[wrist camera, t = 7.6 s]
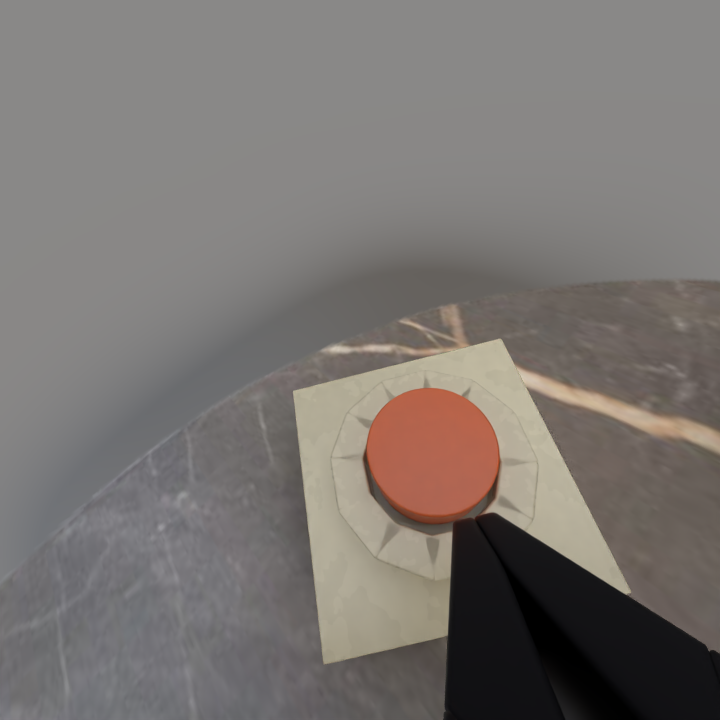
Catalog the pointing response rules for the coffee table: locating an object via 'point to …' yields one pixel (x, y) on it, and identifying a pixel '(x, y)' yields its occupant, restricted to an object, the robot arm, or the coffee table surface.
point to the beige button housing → (411, 538)
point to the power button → (432, 455)
